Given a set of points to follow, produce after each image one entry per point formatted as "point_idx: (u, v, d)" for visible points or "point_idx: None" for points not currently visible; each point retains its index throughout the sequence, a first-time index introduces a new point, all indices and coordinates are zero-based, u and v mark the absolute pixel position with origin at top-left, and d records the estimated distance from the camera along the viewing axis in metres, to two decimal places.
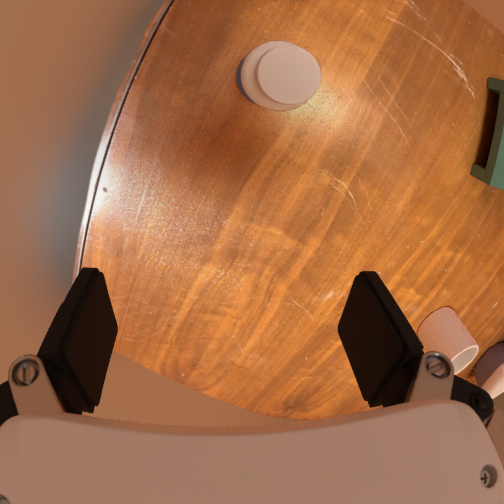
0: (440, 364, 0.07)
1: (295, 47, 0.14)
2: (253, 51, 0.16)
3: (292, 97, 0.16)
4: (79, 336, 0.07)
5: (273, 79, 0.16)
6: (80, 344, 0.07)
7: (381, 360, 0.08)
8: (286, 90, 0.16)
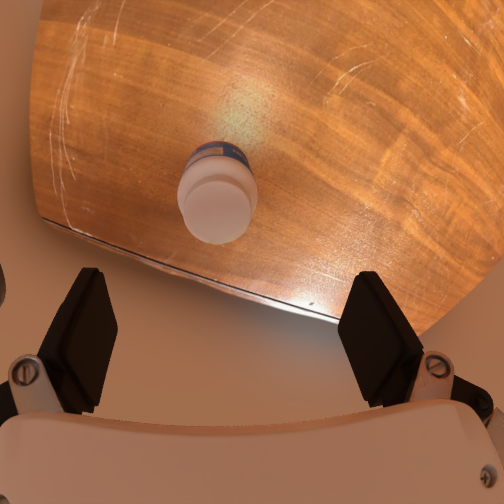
0: (440, 364, 0.07)
1: (185, 211, 0.17)
2: None
3: (243, 210, 0.17)
4: (79, 336, 0.07)
5: (225, 229, 0.17)
6: (80, 344, 0.07)
7: (381, 360, 0.08)
8: (236, 217, 0.17)
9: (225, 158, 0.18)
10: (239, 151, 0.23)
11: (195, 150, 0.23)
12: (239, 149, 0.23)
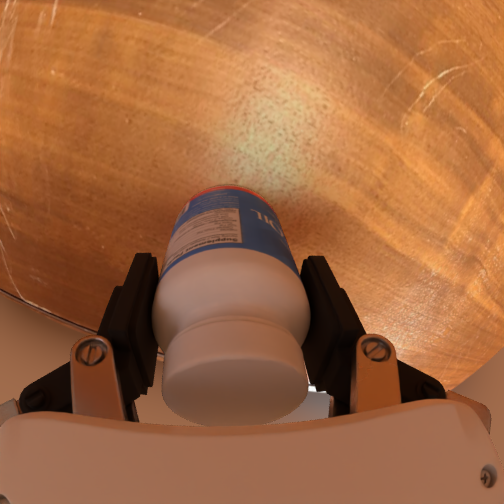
0: (378, 346, 0.08)
1: (166, 396, 0.07)
2: None
3: (291, 393, 0.07)
4: (143, 316, 0.08)
5: (250, 415, 0.08)
6: (143, 324, 0.08)
7: (321, 342, 0.09)
8: (274, 401, 0.07)
9: (248, 259, 0.08)
10: (267, 210, 0.13)
11: (187, 203, 0.13)
12: (265, 202, 0.14)
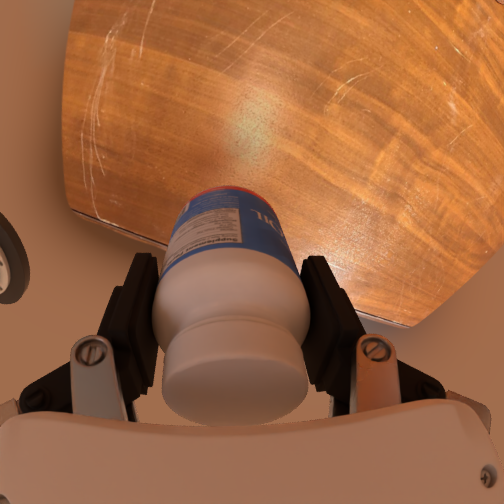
0: (378, 346, 0.08)
1: (167, 395, 0.07)
2: None
3: (291, 392, 0.07)
4: (142, 316, 0.08)
5: (250, 415, 0.08)
6: (143, 324, 0.08)
7: (321, 342, 0.09)
8: (274, 401, 0.07)
9: (248, 259, 0.08)
10: (267, 210, 0.13)
11: (187, 203, 0.14)
12: (265, 202, 0.14)
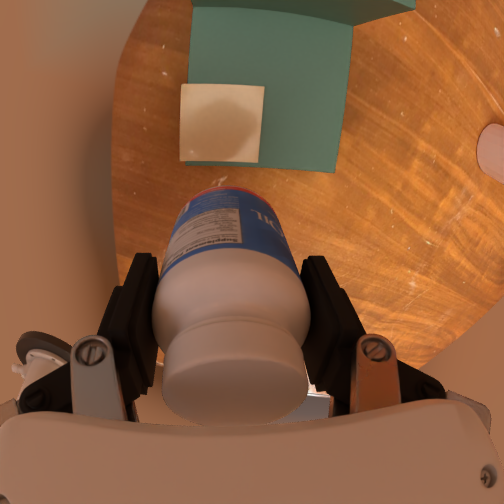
0: (378, 346, 0.08)
1: (166, 396, 0.07)
2: None
3: (291, 393, 0.07)
4: (142, 315, 0.08)
5: (250, 415, 0.08)
6: (143, 323, 0.08)
7: (321, 341, 0.09)
8: (274, 401, 0.07)
9: (248, 260, 0.08)
10: (267, 210, 0.13)
11: (187, 203, 0.13)
12: (265, 202, 0.14)
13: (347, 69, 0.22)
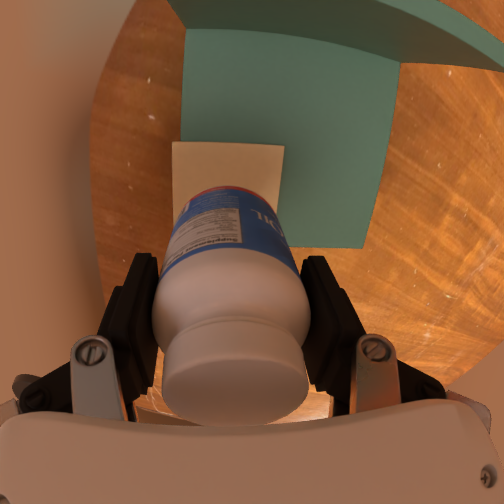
0: (378, 346, 0.08)
1: (166, 396, 0.07)
2: None
3: (291, 393, 0.07)
4: (142, 315, 0.08)
5: (250, 415, 0.08)
6: (143, 323, 0.08)
7: (321, 342, 0.09)
8: (274, 401, 0.07)
9: (248, 259, 0.08)
10: (267, 210, 0.13)
11: (187, 203, 0.13)
12: (265, 202, 0.14)
13: (390, 121, 0.17)
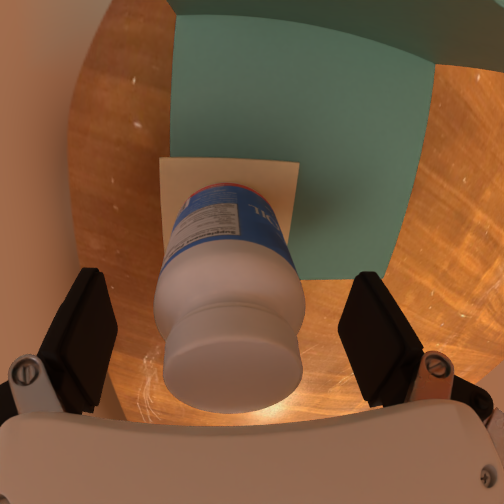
0: (440, 364, 0.07)
1: (167, 379, 0.07)
2: None
3: (286, 377, 0.08)
4: (79, 336, 0.07)
5: (247, 399, 0.08)
6: (80, 344, 0.07)
7: (381, 360, 0.08)
8: (270, 385, 0.08)
9: (246, 250, 0.09)
10: (264, 206, 0.13)
11: (188, 199, 0.14)
12: (263, 198, 0.14)
13: (422, 133, 0.14)
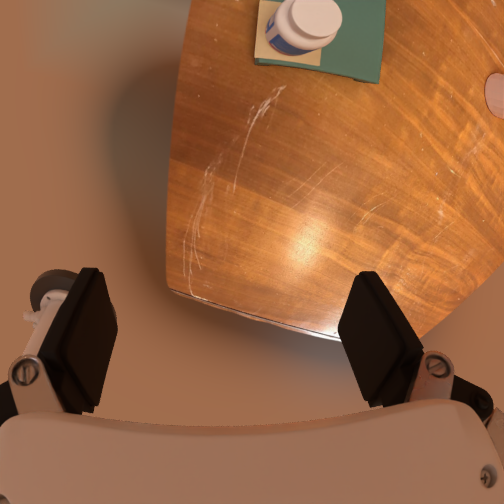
0: (440, 364, 0.07)
1: (293, 8, 0.16)
2: (288, 38, 0.19)
3: (336, 15, 0.16)
4: (79, 336, 0.07)
5: (322, 25, 0.17)
6: (80, 344, 0.07)
7: (381, 360, 0.08)
8: (331, 18, 0.16)
9: None
10: None
11: None
12: None
13: (384, 8, 0.22)
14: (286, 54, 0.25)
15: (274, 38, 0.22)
